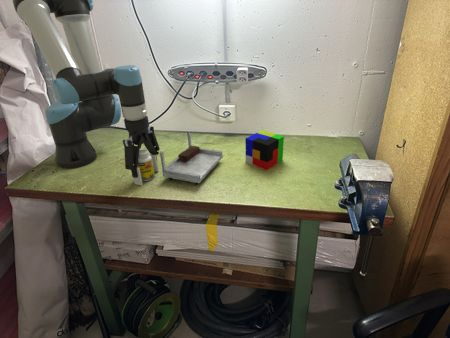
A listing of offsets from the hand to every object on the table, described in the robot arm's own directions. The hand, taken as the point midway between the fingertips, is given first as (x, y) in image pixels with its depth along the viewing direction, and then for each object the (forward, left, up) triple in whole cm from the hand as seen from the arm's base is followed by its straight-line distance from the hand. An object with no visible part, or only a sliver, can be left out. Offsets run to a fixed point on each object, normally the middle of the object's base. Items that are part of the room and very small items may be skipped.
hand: (147, 177), depth 107 cm
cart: (+14, +10, 0) cm, 17 cm away
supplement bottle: (0, 0, 0) cm, 0 cm away
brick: (+9, +16, 0) cm, 18 cm away
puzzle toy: (+36, +25, 0) cm, 44 cm away
